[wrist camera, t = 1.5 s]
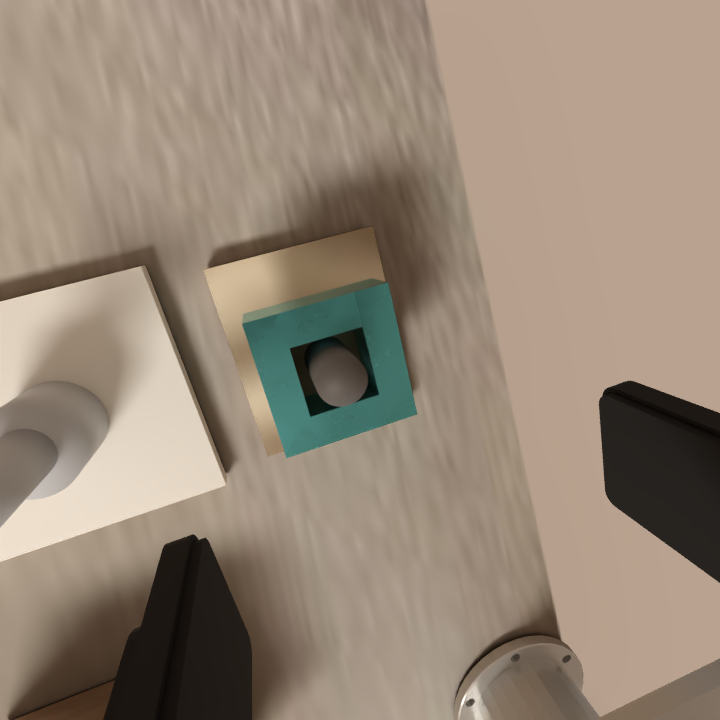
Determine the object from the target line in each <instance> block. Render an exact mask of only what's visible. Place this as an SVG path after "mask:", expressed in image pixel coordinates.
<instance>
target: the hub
mask: <svg viewBox="0 0 720 720" xmlns="http://www.w3.org/2000/svg"><path fill="white" fill-rule="evenodd" d="M226 483H227V476H226V473H225V471H224V468H223V465H222V463H221V460H220V458H219V455H218V452H217V450H216V447H215V445H214V442H213V440H212V437H211V434H210V432H209V429H208V427H207V424H206V421H205V419H204V416H203V414H202V411H201V408H200V406H199V403H198V401H197V398H196V396H195V393H194V390H193V388H192V385H191V383H190V380H189V377H188V375H187V372H186V370H185V367H184V364H183V362H182V359H181V357H180V354H179V352H178V349H177V346H176V344H175V341H174V339H173V336H172V333H171V331H170V328H169V326H168V323H167V320H166V318H165V315H164V313H163V310H162V308H161V305H160V302H159V300H158V297H157V295H156V292H155V289H154V287H153V284H152V282H151V279H150V277H149V274H148V271H147V269H146V266H145V265H144V266H140V267H136V268H132V269H128V270H124V271H120V272H116V273H112V274H108V275H104V276H100V277H96V278H92V279H88V280H84V281H80V282H76V283H72V284H68V285H64V286H60V287H56V288H52V289H48V290H44V291H40V292H36V293H32V294H28V295H24V296H20V297H17V298H13V299H9V300H5V301H1V302H0V562H1V561H4V560H7V559H10V558H13V557H16V556H18V555H21V554H24V553H27V552H30V551H33V550H36V549H39V548H42V547H45V546H48V545H51V544H54V543H57V542H60V541H63V540H66V539H69V538H72V537H75V536H78V535H81V534H84V533H87V532H89V531H92V530H95V529H98V528H101V527H104V526H107V525H110V524H113V523H116V522H119V521H122V520H125V519H128V518H131V517H134V516H137V515H140V514H143V513H146V512H149V511H152V510H155V509H158V508H161V507H163V506H166V505H169V504H172V503H175V502H178V501H181V500H184V499H187V498H190V497H193V496H196V495H199V494H202V493H205V492H208V491H211V490H214V489H217V488H220V487H223V486H226Z"/></svg>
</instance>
